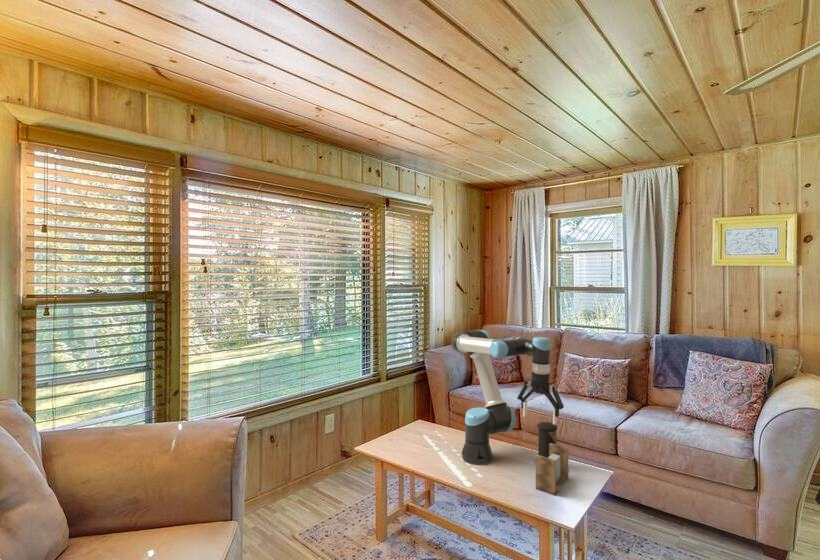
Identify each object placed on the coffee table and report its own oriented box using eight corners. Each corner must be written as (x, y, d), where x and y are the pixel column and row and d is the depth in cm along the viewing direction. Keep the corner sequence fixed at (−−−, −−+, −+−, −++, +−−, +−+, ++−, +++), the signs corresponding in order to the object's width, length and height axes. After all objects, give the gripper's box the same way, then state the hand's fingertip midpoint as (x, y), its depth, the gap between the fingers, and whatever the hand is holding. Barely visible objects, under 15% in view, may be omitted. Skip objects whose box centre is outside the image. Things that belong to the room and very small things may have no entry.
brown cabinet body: (535, 488, 172) (535, 455, 171) (549, 473, 185) (549, 442, 185) (555, 495, 166) (555, 461, 166) (569, 479, 179) (569, 447, 179)
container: (558, 470, 187) (558, 427, 187) (538, 469, 189) (538, 426, 189) (555, 462, 196) (555, 420, 196) (536, 460, 198) (536, 419, 197)
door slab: (542, 484, 173) (542, 461, 173) (551, 475, 181) (551, 453, 181) (552, 487, 170) (552, 463, 170) (560, 478, 178) (560, 455, 178)
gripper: (510, 369, 186) (509, 415, 186) (566, 379, 170) (565, 429, 171) (517, 366, 191) (516, 410, 192) (572, 375, 176) (570, 424, 177)
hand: (539, 419), depth 181 cm, fingers open, 13 cm apart
